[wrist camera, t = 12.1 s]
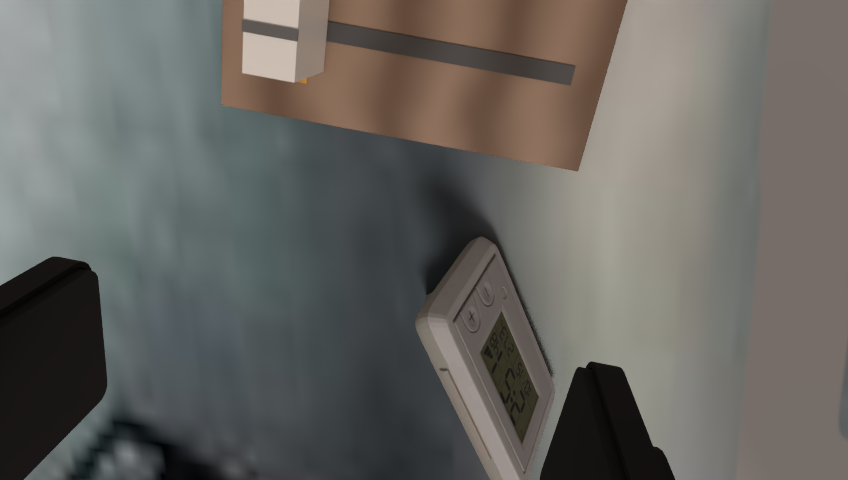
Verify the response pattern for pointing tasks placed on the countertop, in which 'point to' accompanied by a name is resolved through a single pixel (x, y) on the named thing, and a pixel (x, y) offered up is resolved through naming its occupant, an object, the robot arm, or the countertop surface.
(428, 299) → the digital clock
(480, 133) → the console board
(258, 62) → the fader knob
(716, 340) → the countertop surface
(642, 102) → the countertop surface
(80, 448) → the countertop surface
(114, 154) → the countertop surface
